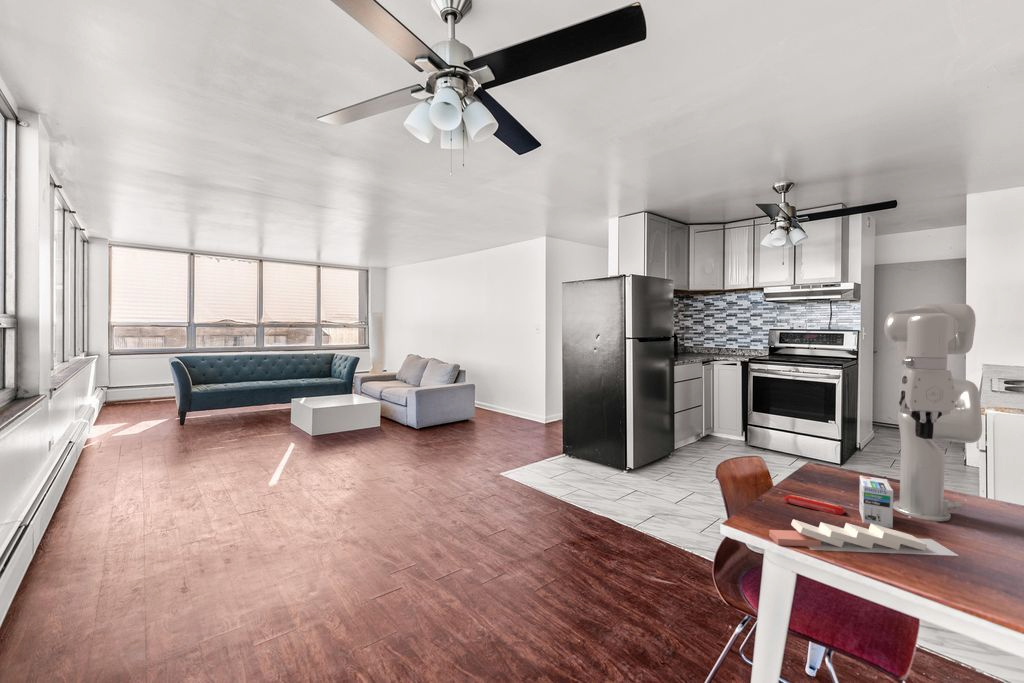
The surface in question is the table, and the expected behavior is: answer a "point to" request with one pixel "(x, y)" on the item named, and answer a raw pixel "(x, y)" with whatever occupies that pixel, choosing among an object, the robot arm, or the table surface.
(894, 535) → the domino
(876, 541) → the domino
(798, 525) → the domino
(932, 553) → the felt strip
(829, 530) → the domino
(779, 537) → the domino
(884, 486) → the light bulb box
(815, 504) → the candy bar
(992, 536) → the table surface
